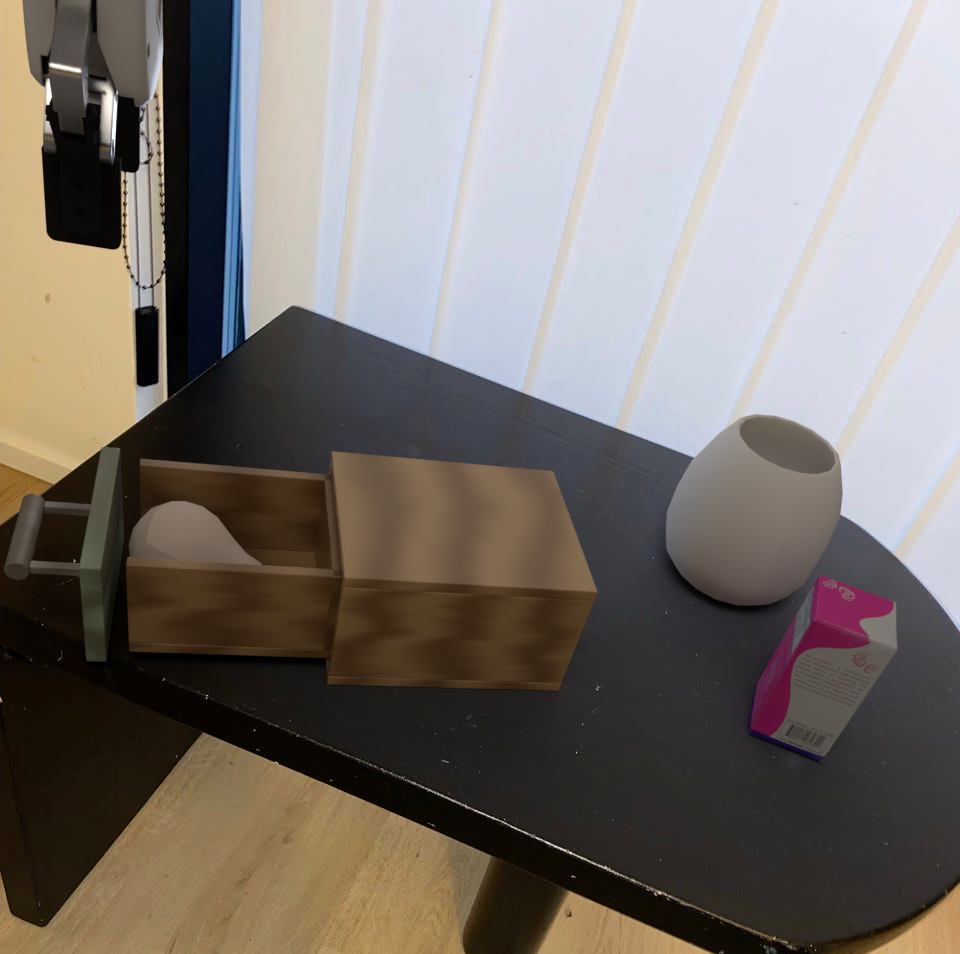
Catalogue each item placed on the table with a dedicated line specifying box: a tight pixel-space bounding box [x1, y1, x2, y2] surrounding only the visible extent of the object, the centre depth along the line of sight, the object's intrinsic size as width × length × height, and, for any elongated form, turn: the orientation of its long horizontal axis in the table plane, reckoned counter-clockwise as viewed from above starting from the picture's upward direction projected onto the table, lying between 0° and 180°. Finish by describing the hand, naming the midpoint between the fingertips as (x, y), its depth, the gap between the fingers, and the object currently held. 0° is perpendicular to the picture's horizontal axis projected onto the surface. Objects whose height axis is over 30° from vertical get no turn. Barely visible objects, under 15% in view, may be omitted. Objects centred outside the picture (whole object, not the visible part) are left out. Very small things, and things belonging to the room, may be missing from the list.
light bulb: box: [128, 501, 262, 565], centre depth 65 cm, size 7×7×11 cm
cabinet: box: [324, 450, 598, 692], centre depth 70 cm, size 17×14×10 cm
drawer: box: [3, 446, 342, 663], centre depth 65 cm, size 20×12×8 cm, turn 100°
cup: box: [665, 413, 844, 606], centre depth 81 cm, size 13×13×14 cm
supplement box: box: [747, 574, 898, 763], centre depth 69 cm, size 6×6×12 cm
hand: (97, 202), depth 49 cm, fingers open, 9 cm apart
